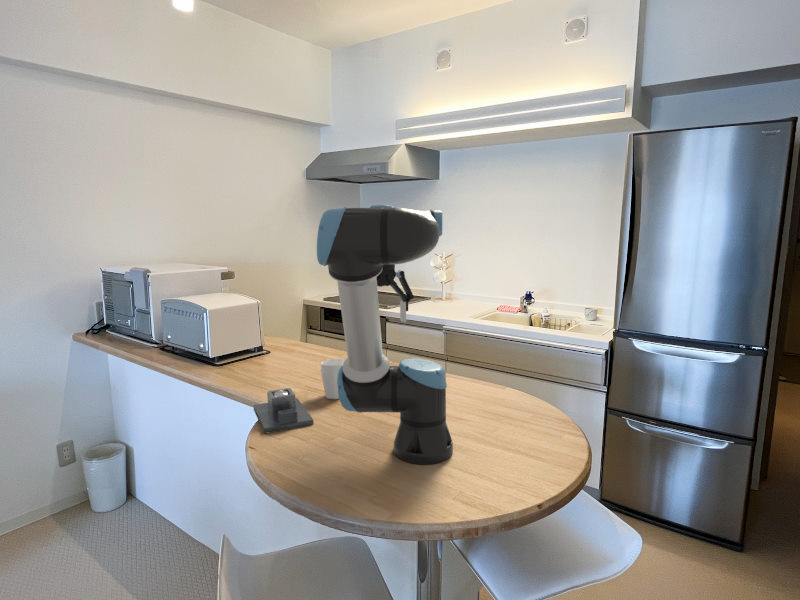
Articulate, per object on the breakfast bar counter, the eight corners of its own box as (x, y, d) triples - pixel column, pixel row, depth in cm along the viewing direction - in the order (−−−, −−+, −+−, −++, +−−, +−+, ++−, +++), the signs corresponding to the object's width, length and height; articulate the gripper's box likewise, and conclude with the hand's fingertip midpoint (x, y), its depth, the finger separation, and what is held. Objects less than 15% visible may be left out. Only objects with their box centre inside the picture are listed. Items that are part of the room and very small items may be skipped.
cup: (343, 401, 160) (342, 366, 158) (318, 400, 161) (316, 365, 159) (352, 392, 168) (351, 359, 166) (327, 391, 170) (326, 357, 168)
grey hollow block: (296, 413, 146) (295, 394, 145) (272, 418, 143) (271, 398, 142) (290, 406, 152) (290, 387, 151) (268, 410, 149) (267, 391, 148)
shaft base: (313, 424, 141) (312, 399, 140) (264, 433, 136) (263, 408, 134) (297, 402, 159) (296, 380, 158) (253, 409, 154) (252, 386, 152)
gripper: (413, 254, 158) (413, 318, 161) (340, 257, 147) (342, 325, 150) (424, 255, 151) (424, 321, 154) (348, 258, 140) (350, 329, 144)
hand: (383, 323), depth 152 cm, fingers open, 13 cm apart
